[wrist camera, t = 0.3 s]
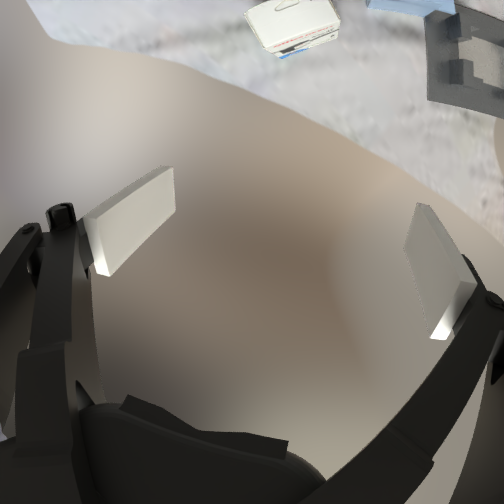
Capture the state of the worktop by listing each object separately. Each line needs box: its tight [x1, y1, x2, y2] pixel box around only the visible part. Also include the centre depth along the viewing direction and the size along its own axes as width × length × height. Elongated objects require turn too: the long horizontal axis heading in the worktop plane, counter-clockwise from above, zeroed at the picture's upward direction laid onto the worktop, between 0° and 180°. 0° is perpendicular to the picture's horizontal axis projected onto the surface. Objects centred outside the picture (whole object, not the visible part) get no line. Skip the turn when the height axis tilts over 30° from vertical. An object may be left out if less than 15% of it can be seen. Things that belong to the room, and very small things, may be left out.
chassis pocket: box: [424, 4, 504, 119], centre depth 22 cm, size 16×20×6 cm
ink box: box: [244, 0, 341, 59], centre depth 26 cm, size 8×5×12 cm, turn 115°
